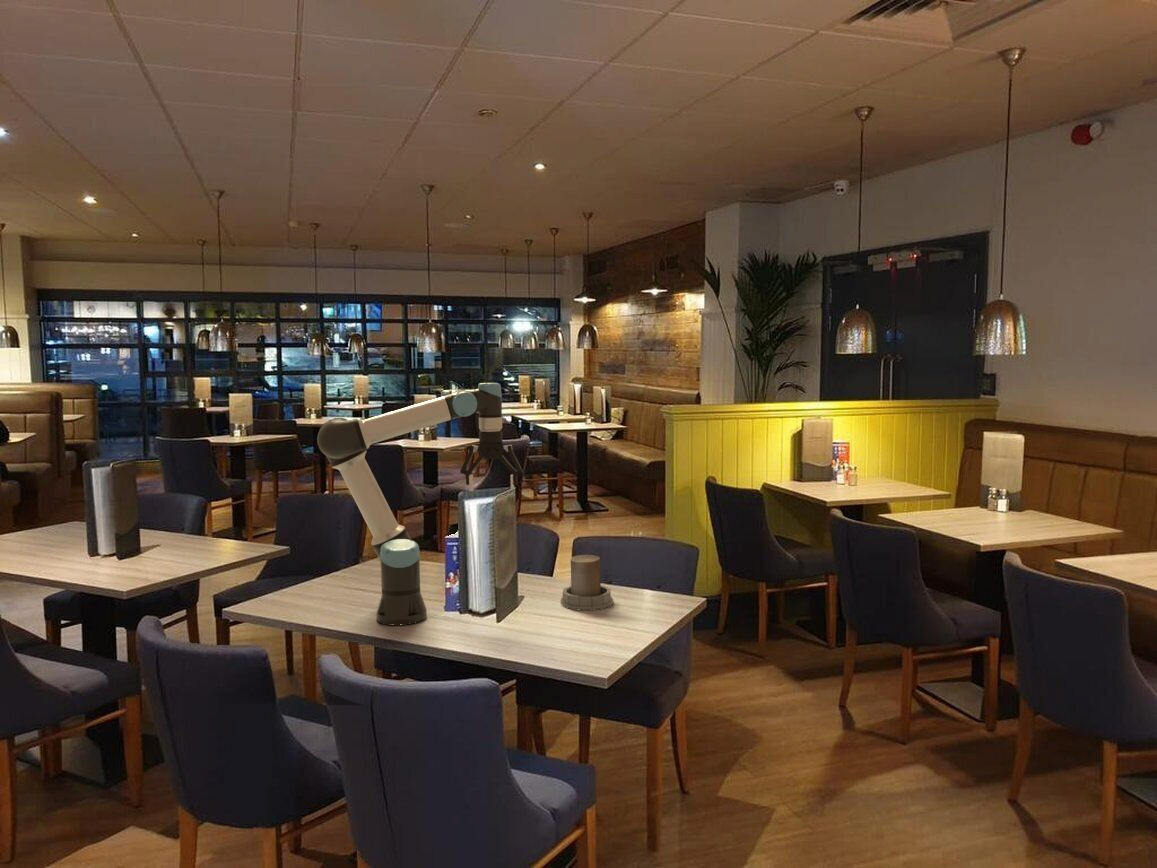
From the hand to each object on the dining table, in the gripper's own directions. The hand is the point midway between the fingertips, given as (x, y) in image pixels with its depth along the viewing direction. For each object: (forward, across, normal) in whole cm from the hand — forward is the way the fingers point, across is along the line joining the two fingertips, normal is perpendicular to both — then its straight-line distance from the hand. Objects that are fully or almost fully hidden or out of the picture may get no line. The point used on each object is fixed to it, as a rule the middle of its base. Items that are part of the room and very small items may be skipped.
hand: (491, 494), depth 276 cm
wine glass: (+35, +15, -23) cm, 44 cm away
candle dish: (+35, -31, +4) cm, 47 cm away
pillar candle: (+34, -31, +4) cm, 46 cm away
